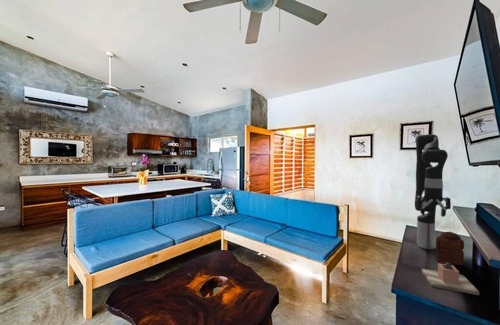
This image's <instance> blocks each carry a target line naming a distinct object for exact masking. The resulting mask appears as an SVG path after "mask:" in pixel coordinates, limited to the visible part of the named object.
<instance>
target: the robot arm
mask: <svg viewBox="0 0 500 325" xmlns="http://www.w3.org/2000/svg"><path fill="white" fill-rule="evenodd" d="M439 145H440V143H439V137H438V136H437V134H433V133H432V134H419V135H417V136H416V139H415V152H416V164H415V165H416V166H415V197H414V209H415V210H416V211H418V212H420V214H419V215H418V216H417V219H416V222H417V223H416V245H417V246H418V247H419V248H421V249H424V250H435V249H436V211H437V206H439V207H440V208H441V210H440V216H441V217H442V218H443V217H446V215H447V210H451V208H452V207H451V206H452V204H451V198H449V197H448V196H446V197H443V192H444V191H443V188H444V182H443V169H444V167H445V165H446V162H447V160H448V156H449V155H448V152H447V151H446V150H445V149H440V146H439ZM431 163H432V164H436V165H432V164H431ZM423 194H424V195H423ZM443 201H444V202H445V205H444V204H443ZM425 212H427V213H425Z"/></svg>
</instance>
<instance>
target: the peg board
mask: <svg viewBox="0 0 500 325" xmlns="http://www.w3.org/2000/svg"><path fill="white" fill-rule="evenodd" d="M451 265H452V264H450V263H447V262H446V263H445V269H450V270H451ZM421 273H422V274H423V275H424V277H425V279H426V280H427V282H428V283H429V284H430V286H431V287H432V286H433V288H438V289H444V290H449V291H453V292H459V293H464V294H470V295H476V296H480V291H479V290H478V289H477V287H475V286H474V285H473V284H472V283H471V282H470V281H469V280H468V279H467V278H466V276H465V275H463V274H460V273H459V284H456V283H450V282H444V281H442V280H441V278H440V277H439V276H438V270H434V269H433V270H432V269H427V268H421Z"/></svg>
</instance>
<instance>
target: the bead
mask: <svg viewBox="0 0 500 325" xmlns="http://www.w3.org/2000/svg"><path fill="white" fill-rule="evenodd" d="M437 271H438V276H439V277H440V278H441V280H442V281H444V282H450V283H456V284H459V274H460V271H459V270H458V269H457V268H456V267H455V266H454V265H452V264H451V270H450V269H445V264H444V263H440V262H438V263H437Z"/></svg>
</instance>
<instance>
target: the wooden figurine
mask: <svg viewBox="0 0 500 325" xmlns="http://www.w3.org/2000/svg"><path fill="white" fill-rule="evenodd" d="M464 249H465V241H464V239H462V238H461V237H460V235H458V234H457V233H455V232H452V231H444V232H442V233H441V234H440V235H439V236H437V237H436V238H435V250H436V252H437V254H436V258H435V259H436V260H435V261H437V262H438V263H439V264H445V263H446V262H447V263H450V264H451V265H453V266H454V265H455V266H462V265H463V263H464V259H465V258H464V257H465V252H464Z"/></svg>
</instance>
